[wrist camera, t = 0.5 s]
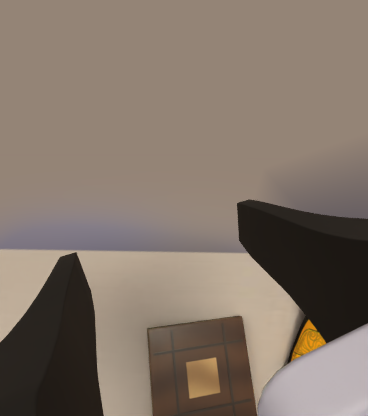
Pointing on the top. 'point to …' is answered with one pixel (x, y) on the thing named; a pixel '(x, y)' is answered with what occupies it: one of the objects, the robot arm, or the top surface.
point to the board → (200, 369)
